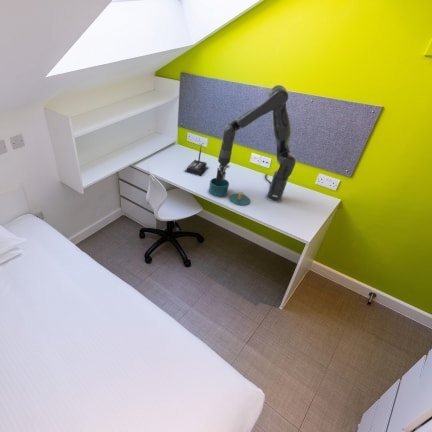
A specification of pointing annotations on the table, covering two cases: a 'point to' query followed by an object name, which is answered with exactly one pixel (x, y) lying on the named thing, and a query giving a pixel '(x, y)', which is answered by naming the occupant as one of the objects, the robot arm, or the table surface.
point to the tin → (218, 187)
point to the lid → (239, 199)
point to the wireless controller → (197, 166)
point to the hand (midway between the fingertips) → (220, 178)
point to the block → (222, 176)
